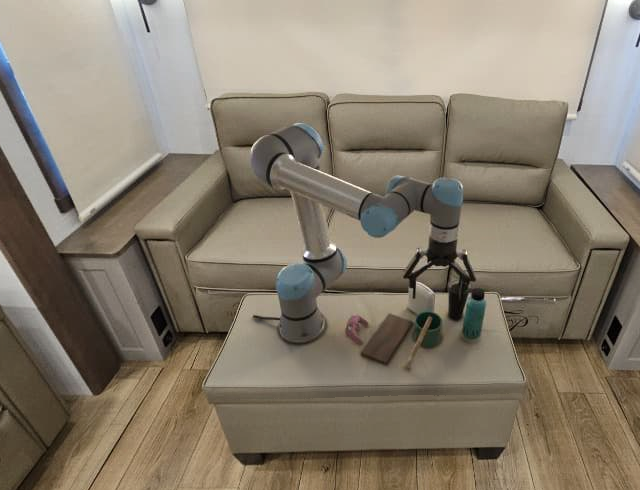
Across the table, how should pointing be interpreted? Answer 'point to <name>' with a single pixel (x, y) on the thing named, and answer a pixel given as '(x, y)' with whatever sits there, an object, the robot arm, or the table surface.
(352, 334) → the video game controller
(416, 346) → the stirrer
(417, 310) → the photo printer
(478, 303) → the beverage bottle
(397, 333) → the board
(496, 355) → the table surface
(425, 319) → the coffee cup
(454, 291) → the drinking cup
